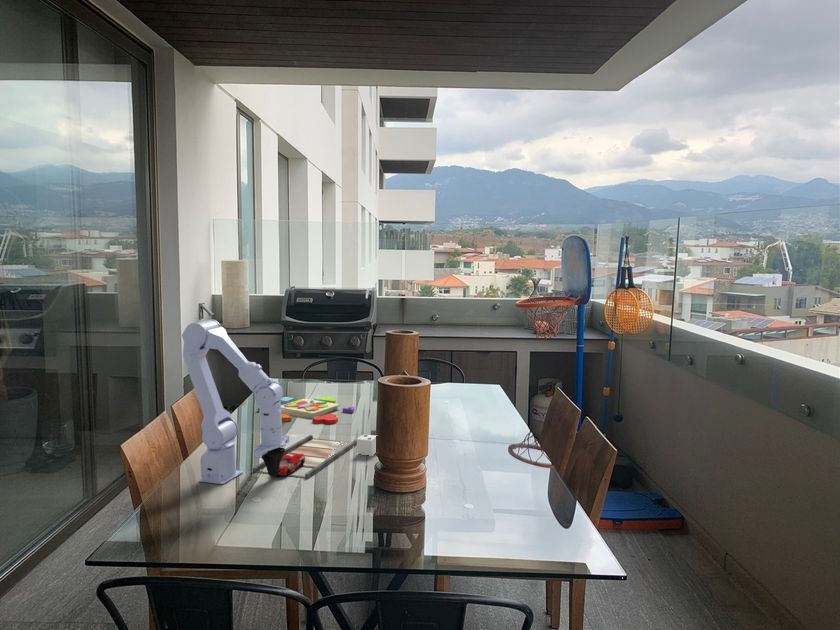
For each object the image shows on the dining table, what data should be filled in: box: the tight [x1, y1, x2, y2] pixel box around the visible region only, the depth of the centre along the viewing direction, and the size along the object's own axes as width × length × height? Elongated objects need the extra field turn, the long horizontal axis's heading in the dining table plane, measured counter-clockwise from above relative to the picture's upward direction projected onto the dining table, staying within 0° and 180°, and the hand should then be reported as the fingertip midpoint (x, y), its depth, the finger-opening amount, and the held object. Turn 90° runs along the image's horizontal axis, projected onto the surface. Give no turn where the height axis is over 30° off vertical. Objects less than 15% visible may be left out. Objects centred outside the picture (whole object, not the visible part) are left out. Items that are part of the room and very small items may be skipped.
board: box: [252, 434, 358, 480], centre depth 191 cm, size 33×18×1 cm, turn 161°
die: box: [356, 434, 377, 457], centre depth 193 cm, size 5×5×5 cm
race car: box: [277, 452, 305, 477], centre depth 179 cm, size 13×5×4 cm, turn 161°
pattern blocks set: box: [257, 396, 355, 425], centre depth 245 cm, size 38×34×3 cm
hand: (273, 475), depth 172 cm, fingers closed
